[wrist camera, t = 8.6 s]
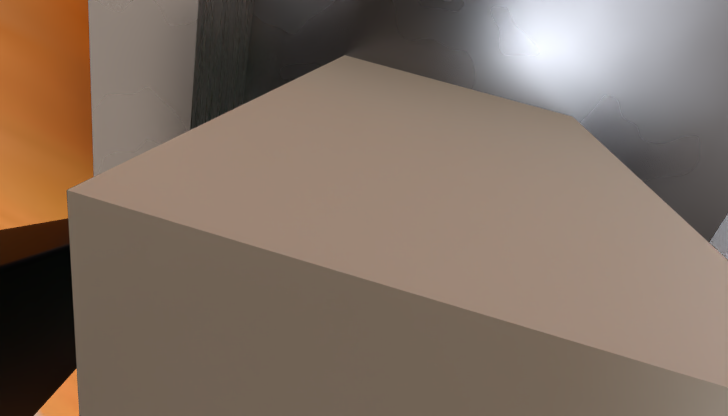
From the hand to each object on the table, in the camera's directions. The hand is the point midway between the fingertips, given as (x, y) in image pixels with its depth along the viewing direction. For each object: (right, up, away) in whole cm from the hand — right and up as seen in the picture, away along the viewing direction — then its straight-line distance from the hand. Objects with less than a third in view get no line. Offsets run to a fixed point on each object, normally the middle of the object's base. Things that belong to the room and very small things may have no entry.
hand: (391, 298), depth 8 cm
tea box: (+1, +1, +3) cm, 3 cm away
